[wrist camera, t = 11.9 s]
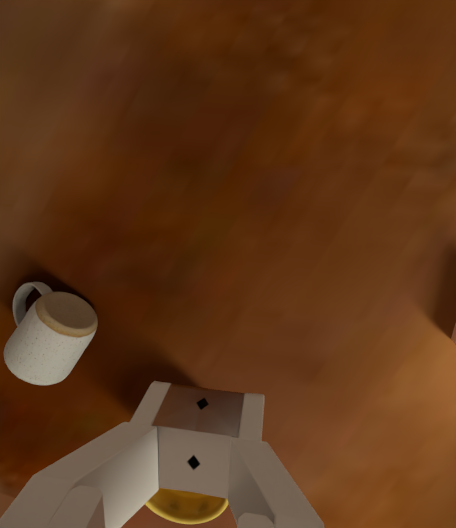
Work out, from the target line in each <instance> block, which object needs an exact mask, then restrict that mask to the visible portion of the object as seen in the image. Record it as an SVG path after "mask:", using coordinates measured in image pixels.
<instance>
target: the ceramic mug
mask: <svg viewBox="0 0 456 528" xmlns="http://www.w3.org/2000/svg"><path fill="white" fill-rule="evenodd" d="M34 288H36V289H37V290H38V291H39V292H40V294H41V295H42V296H41V297H40V298H39V299H37V300H36V301H35V302H34V304H33V305H32V306H31V307H30V309H29V310H28V312H27V313H26V305H25V301H26V298H27V296H28V295H29V294H30V292H31V291H32V290H34ZM13 315H14V318H15V322H16V324H17V326H18V327H17V328H16V330H15V331H14V333H13V334H12V336H11V337H10V339H9V340H8V342H7V344H6V346H5V349H4V360H5V362H6V364H7V366H8V368H9V369H10V371H11V372H12V373H13V374H15V375H16V376H17V377H18V378H20V379H22V380H24V381H26V382H29V383H32V384H36V385H51V384H55V383H58V382H60V381H62V380H63V379H65V378H66V377H67V376H68V375H69V373H70V372H71V370H72V369H73V367H74V366H75V364H76V362H77V361H78V359H79V358H80V356H81V355H82V353H83V352H84V350H85V348H86V347H87V346H88V344H89V343H90V341H91V340H92V338H93V336H94V334H95V331H96V329H97V325H98V319H97V315H96V313H95V311H94V310H93V308H92V307H91V306H90V305H89V304H88V303H87V302H86V301H84V300H83V299H81V298H80V297H78V296H76V295H73V294H70V293H67V292H53V291H52V290H51V288H50V287H48V286H47V285H46V284H44V283H42V282H29V283H25V284H23V285H22V286H21V287H20V288H19V289H18V290H17V292H16V294H15V296H14V299H13Z"/></svg>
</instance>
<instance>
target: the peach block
mask: <svg viewBox="0 0 456 528" xmlns="http://www.w3.org/2000/svg"><path fill="white" fill-rule="evenodd" d="M451 340H452V341H453V342H454V343H455V344H456V323H455V327H454V330H453V334H452V337H451Z"/></svg>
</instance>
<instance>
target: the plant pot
mask: <svg viewBox="0 0 456 528" xmlns="http://www.w3.org/2000/svg"><path fill="white" fill-rule="evenodd" d="M228 504H229V503H228V499H226V498H221V497H216V496H211V495H205V494H200V493H195V492H188V491H181V490H173V489H165V488H159V490H158V491H157V492H156V493H155V494H154V495H153V496H152V497H151V498H150V499H149V500H148V501H147V502H146V503H145V505H146V506H147V507H148V508H149V509H151V510H152V511H153V512H155V513H156V514H158V515H159V516H161V517H163V518H165V519H168V520H170V521H174V522H177V523H182V524H199V523H204V522H207V521H210V520H212V519H214V518H216V517H217V516H219V515H220V514H221V513H222V512H223V511H224V510H225V509H226V507H227V506H228Z"/></svg>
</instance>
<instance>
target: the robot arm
mask: <svg viewBox="0 0 456 528" xmlns="http://www.w3.org/2000/svg"><path fill="white" fill-rule="evenodd" d="M264 398H265V397H264V394H254V393H238V392H230V391H222V390H214V389H208V388H201V387H194V386H188V385H181V384H174V383H173V384H171V383H166V382H159V381H154V382H153V383H151V384H150V386H149V388H148V390H147V392H146V394H145V395H144V397H143V399H142V401H141V403H140V404H139V406H138V408H137V410H136V412H135V413H134V415H133V417H132V419H131V421H130V422H129V423H128V422H123V423H121V424H120V425H118V426H116V427H115V428H113V429H111V430H109V431H108V432H106V433H104V434H103V435H101V436H99V437H97V438H96V439H94V440H92V441H91V442H89V443H87V444H86V445H84V446H82V447H80V448H79V449H77V450H75V451H74V452H72V453H70V454H69V455H67V456H65V457H63V458H62V459H60V460H58V461H57V462H55V463H53V464H52V465H50V466H48V467H46V468H45V469H43V470H41V471H40V472H38V473H36V474H34V475H33V476H32V478H31V479H30V480H29V481H28V483H27V484H26V485H25V487H24V488H23V489H22V491H21V492H20V493H19V495H18V496H17V497H16V499H15V500H14V501H13V503H12V504H11V505H10V507H9V508H8V509H7V511H6V512H5V513H4V515H3V516H2V517H1V519H0V528H120V527H121V526H123V525H124V524H125V523H126V522H127V521H128V520H129V519H130V518H131V517H132V516H133V515H134V514H135V513H136V512H137V511H138V510H139V509H140V508H141V507H142V506H143V505H144V504H145V503H146V502H147V501H148V500H149V499H150V498H151V497H152V496H153V495H154V494H155V493H156V492H157V491H158V490H159V488H165V489H173V490H181V491H188V492H195V493H200V494H205V495H211V496H216V497H221V498H226V499H228V503H229V505H230V508H231V510H232V513H233V516H234V518H235V521H236V523H237V528H324V523H323V522H322V520H321V519H320V517H319V516H318V515H317V513H316V512H315V510H314V509H313V507H312V506H311V505H310V503H309V502H308V500H307V499H306V497H305V496H304V494H303V493H302V492H301V490H300V489H299V487H298V486H297V484H296V483H295V481H294V480H293V479H292V477H291V476H290V474H289V473H288V471H287V470H286V468H285V467H284V466H283V464H282V463H281V461H280V460H279V458H278V457H277V455H276V454H275V453H274V451H273V450H272V448H271V447H270V445H269V444H268V443H267V442H263V441H261V440H262V426H263V412H264Z"/></svg>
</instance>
